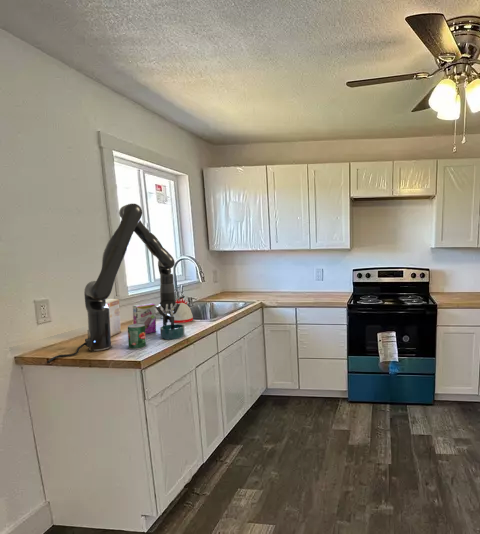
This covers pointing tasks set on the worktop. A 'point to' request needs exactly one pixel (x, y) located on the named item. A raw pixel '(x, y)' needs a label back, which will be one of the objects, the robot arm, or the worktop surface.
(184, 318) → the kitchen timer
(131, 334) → the canned tomato
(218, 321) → the worktop surface
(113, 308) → the coffeecake box
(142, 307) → the candy bar box
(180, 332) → the bowl
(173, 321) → the dark elongated piece
